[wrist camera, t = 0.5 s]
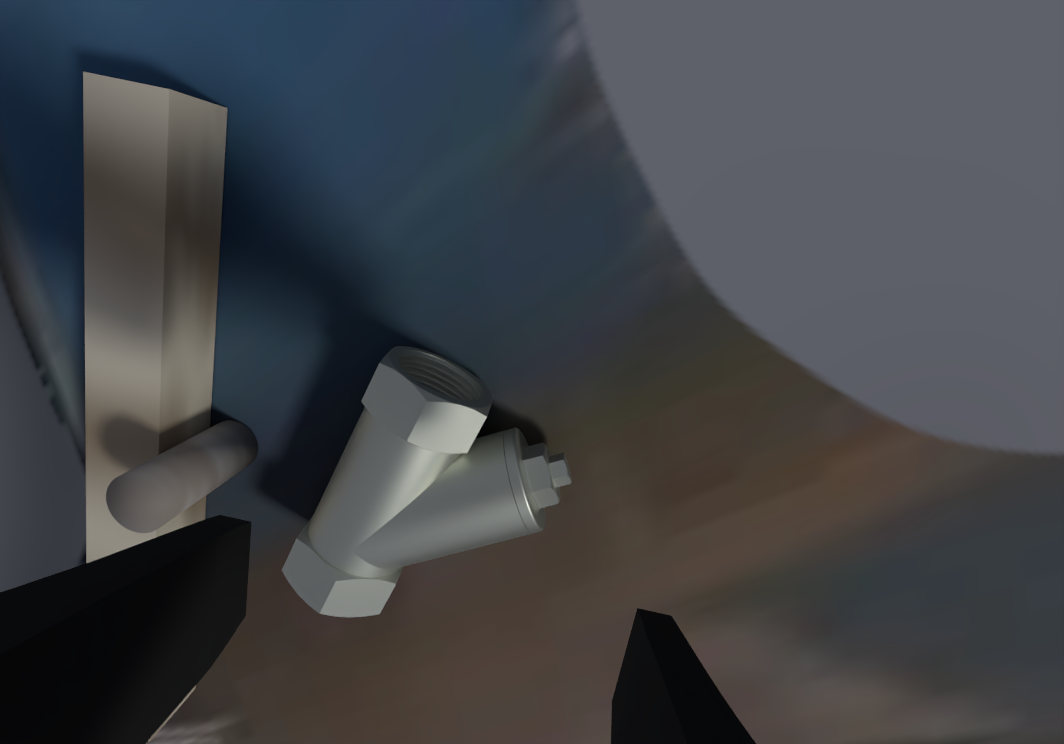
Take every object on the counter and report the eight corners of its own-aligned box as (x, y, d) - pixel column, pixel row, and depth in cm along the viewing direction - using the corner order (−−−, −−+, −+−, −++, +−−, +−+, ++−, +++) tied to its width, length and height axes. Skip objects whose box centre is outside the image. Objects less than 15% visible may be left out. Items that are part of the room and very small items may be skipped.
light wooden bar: (238, 698, 23) (156, 808, 19) (139, 674, 23) (36, 776, 19) (284, 119, 17) (182, 84, 13) (152, 92, 18) (8, 48, 13)
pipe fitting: (585, 426, 20) (406, 335, 19) (594, 479, 16) (371, 368, 15) (481, 600, 22) (315, 524, 21) (467, 683, 18) (265, 593, 17)
